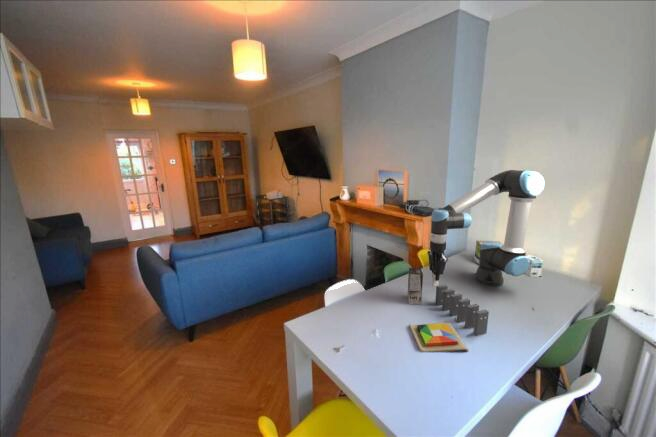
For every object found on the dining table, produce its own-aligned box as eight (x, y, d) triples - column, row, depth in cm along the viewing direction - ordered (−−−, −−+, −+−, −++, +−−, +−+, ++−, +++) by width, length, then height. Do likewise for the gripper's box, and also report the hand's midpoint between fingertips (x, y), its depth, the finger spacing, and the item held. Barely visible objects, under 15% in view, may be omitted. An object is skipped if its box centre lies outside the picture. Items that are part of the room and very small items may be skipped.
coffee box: (421, 305, 143) (423, 274, 139) (408, 303, 144) (409, 274, 141) (419, 296, 151) (421, 267, 148) (407, 295, 153) (408, 267, 149)
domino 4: (456, 320, 129) (458, 300, 127) (465, 318, 131) (467, 298, 128) (459, 322, 127) (461, 302, 125) (468, 320, 129) (470, 300, 126)
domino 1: (435, 304, 143) (436, 285, 141) (443, 302, 145) (445, 284, 142) (437, 306, 141) (439, 287, 139) (446, 304, 143) (447, 286, 140)
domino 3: (448, 314, 134) (450, 295, 132) (457, 312, 135) (459, 293, 133) (451, 316, 132) (453, 297, 130) (460, 315, 133) (462, 295, 131)
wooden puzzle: (408, 326, 126) (408, 319, 125) (451, 326, 126) (451, 319, 125) (419, 353, 109) (420, 345, 108) (469, 353, 109) (470, 345, 108)
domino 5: (464, 326, 124) (466, 305, 122) (473, 324, 126) (476, 303, 124) (468, 329, 123) (470, 307, 120) (477, 326, 124) (479, 306, 122)
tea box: (478, 265, 191) (480, 244, 188) (473, 260, 201) (475, 240, 198) (503, 266, 189) (505, 245, 186) (497, 261, 199) (499, 240, 195)
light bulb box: (541, 277, 172) (544, 260, 169) (530, 277, 172) (532, 260, 170) (529, 270, 182) (531, 254, 180) (518, 270, 182) (520, 254, 180)
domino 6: (473, 333, 120) (475, 311, 118) (482, 330, 121) (485, 309, 119) (477, 335, 118) (479, 314, 116) (486, 333, 119) (489, 312, 117)
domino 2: (441, 309, 139) (443, 290, 136) (450, 307, 140) (452, 288, 138) (444, 311, 137) (446, 292, 134) (453, 309, 138) (455, 290, 136)
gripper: (423, 238, 146) (421, 281, 151) (440, 245, 134) (437, 292, 139) (436, 237, 148) (433, 279, 153) (453, 244, 136) (450, 289, 141)
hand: (435, 285), depth 146 cm, fingers closed
